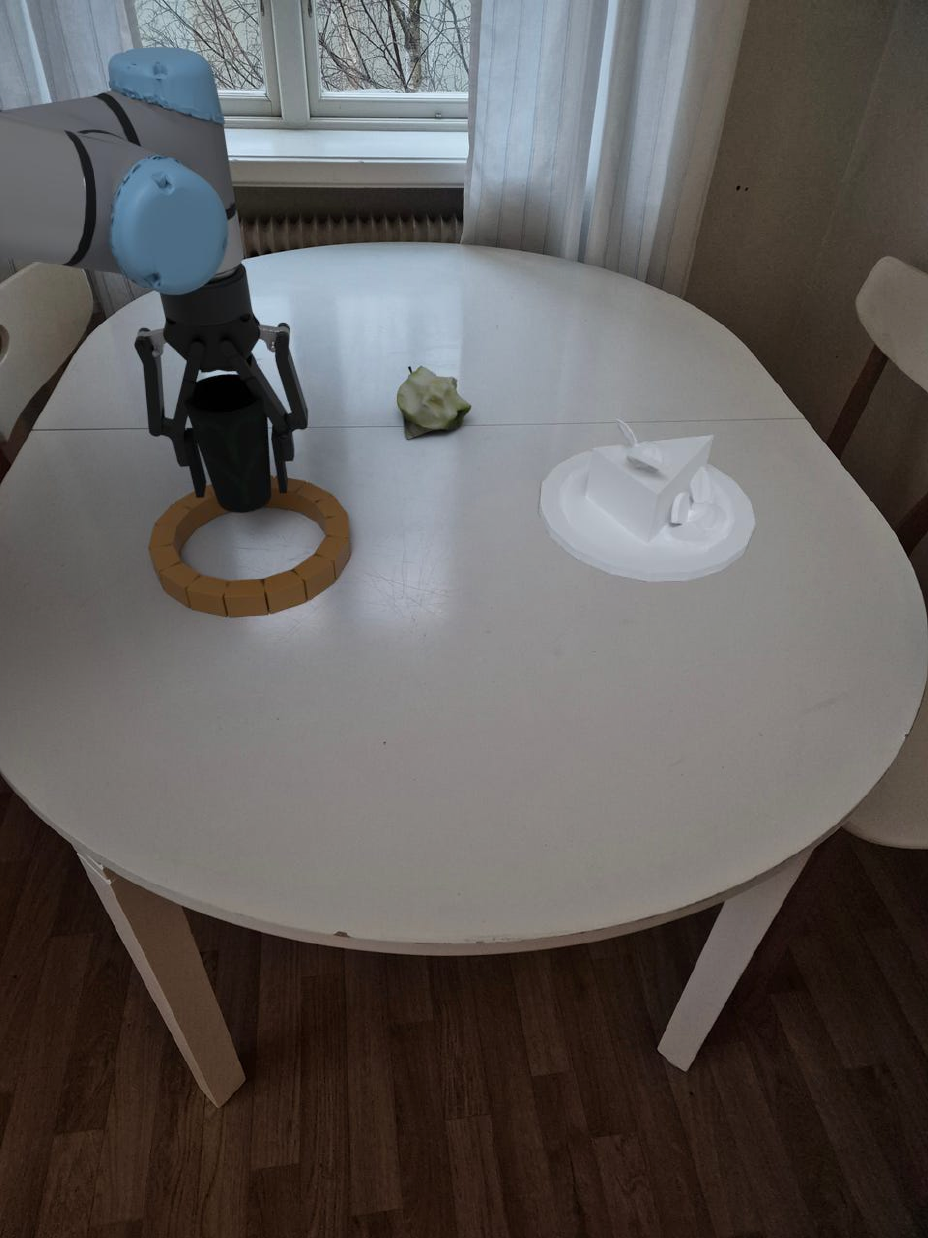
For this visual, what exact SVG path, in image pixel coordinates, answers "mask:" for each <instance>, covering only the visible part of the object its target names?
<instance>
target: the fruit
mask: <svg viewBox="0 0 928 1238" xmlns="http://www.w3.org/2000/svg"><path fill="white" fill-rule="evenodd" d="M407 369H408V371H409V374H408V375H407V378H406V380H405V381H404V382H403V383H402V384H401V385H399V388H398V390H397V393H396V404H397V407H398V409H399V411H400V412H401V414H402V418H403V430H404V431H403V432H404V433H403V434H404V438H405V440H408V441H409V440H411V439H413V438H415V437H418V436H421V435H423V434H426V433H428V432H431V431H437V430H446V431H450V430H453V429H457V428H460V427H461V426H462V425H463V423H464V418H465V416H466V415H468V413H470V411H471V410H472V404H470V403H468V401H466V400H465V399H463V398H462V397H461V395H460V394H459V393H458V390H457V388H458V379H457V378H455V377H453V376H439V375H438V376H437V374H436V372H434V371H431V370H430V369H428V367H426V366H423V365H420V366H419V367H417V369H416V370H414V371H413V370H412V366H411V365H409V366H407Z"/></svg>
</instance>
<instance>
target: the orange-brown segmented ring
mask: <svg viewBox="0 0 928 1238" xmlns="http://www.w3.org/2000/svg"><path fill="white" fill-rule="evenodd" d="M271 492H272V495H271V499H270V501H269V502H268V503H267V504H266V505H265V506H263V507H262V508H275V509H276V508H277V509H282V510H287V511H293V512H297V513H300V514H301V515H303V516H305V517H306V518H308V519H310V520H312V521H314V522H316V524H318V526H319V527H320V529H321V530H322V532H323V534H325V536H324V538H323V540H322V541H321V542H320V544H319V545H318V548H317V549H316V550H315V552H314V553H313V554H312V555H310V556H309V557H307V558H306V559H304V560H303V561H301V562H300V563H299V564H297V565H295V566H294V567H293V568H291V569H288V570H284V571H281V572H279V573H275V574H272V575H270V576H266V577H263V578H252V579H249V578H248V579H233V580H231V579H230V580H229V579H223V578H219V577H215V576H210V575H204V574H201V573H199V572H198V571H196V570H195V569H193V568H192V567H191V566H189V565H188V564H186V563H185V562H183V561H182V560H181V558H180V557H181V551H182V548H183V547H182V546H184V544H185V543H186V542H187V541H188V540H189V538H190V537H191V535H193V533H194V532H195V531H196V530H197V529H198V528H200V527H201V526H203V525H205V524H207V523H209V522H210V521H211V520H214V519H216V518H217V517H219V516H222V515H226V514H230V513H231V512H229V511H227V510H225V509H223V508H222V507H220V505H219V504H218V501H217V498H216V495H215V493H214V490H213V487H212V484H206V489H205V495H204V498H196V494H195V490H194V491H191V492H190V493H188V494H187V495H185V496H183V497H181V498H179V499H178V500H176V501H174V503H172V504H170V505H169V507H168V508H167V509H166V510H165V511H164V512H163V513H162V515H161V516H160V517H159V518H158V519H157V520H156V521H155V523H154V525H153V526H152V531H151V535H150V539H149V542H148V543H149V544H148V553H149V557H150V560H151V563H152V568H153V570H154V572H155V573H156V574H155V575H156V577H157V579H158V581H159V583H160V585H161V587H162V589H163V590H162V591H164V592H165V593H166V594H167V595H169V596H170V597H172V598H173V599H175V601H178V602H179V603H181V604H182V605H184V606H185V607H187V608H188V609H191V610H193V611H197V612H201V613H207V614H210V615H215V616H220V617H224V618H227V617H228V618H240V617H241V618H242V617H253V616H254V617H255V616H268V615H269V614H270V615H273V614H275V613H279V612H281V611H284V610H288V609H290V608H293V607H296V606H300V605H303V604H304V603H305V604H306V603H307V601H308V602H309V601H311V600H312V599H314V598H315V597H317V596H318V595H320V594H321V593H322V592H324V591H325V590H326V589H328V588H329V587H331V586H332V585H333V584H335V583H336V581H338V579H339V577H340V575H341V574H342V572H343V571H344V569H345V567H346V565H347V564H348V563H349V561H350V559H351V555H352V554H351V553H352V552H351V551H352V550H351V531H350V530H351V529H350V520H349V515H348V512H347V511H346V510H345V508H344V506H342V504H341V503H340V501H339V500H338V499H337V497H336V496H335V495H333V493H330V492H329V491H327V490H326V489H324V488H321V487H320V486H318V485H316V484H314V483H312V482H310V481H307V480H304V479H298V478H292V477H288V485H287V493H280V492H279V486H278V480H277V474H276V475H273V474H271Z"/></svg>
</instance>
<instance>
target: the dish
mask: <svg viewBox="0 0 928 1238" xmlns="http://www.w3.org/2000/svg"><path fill="white" fill-rule="evenodd" d="M614 421H615V424H616V426H617V428H618V430H619V432H620V434H621V436H622V437H623V438H624V440H625V441H626V442H627V443H622V444H612V445H602V446H594V447H592V448H591V449H590V450H586V451H581V452H578V453H576V454H574V455H572V456H570V457H569V458H566V459H565V460H564V461H562V462H560V463H558V464H557V465H555V466H554V467H553V469H552V470H551V471H550V473H548V475H547V476H546V477H545V479H544V480H543V482H542V483H541V487H540V498H539V510H538V516H539V518H540V520H541V522H542V524H543V526H544V528H545V530H546V532H547V534H548V536H549V538H550V539H551V540H552V541H554V542H555V543H556V545H558V546H559V547H561V548H562V549H563V550H564V551H565V552H566V553H567V554H568V555H570V556H571V557H572V558H573V559H576V560H577V561H579V562H581V563H584V564H586V565H589V566H590V567H593V568H595V569H597V570H599V571H601V572H604V573H606V574H608V575H612V576H617V577H623V578H627V579H632V580H637V581H642V582H645V583H646V582H647V583H664V582H665V583H666V582H667V583H668V582H689V581H693V580H696V579H699V578H703V577H706V576H707V577H708V576H710V575H713V574H717V573H720V572H723V571H724V570H725V569H726V568H728V567H729V566H730V565H732V564H733V563H734V562H736V561H737V560H738V559H739V558H741V557H742V556H743V555H745V553H746V550H747V548H748V544H749V543H750V541H751V538H752V535H753V533H754V530H755V527H756V519H755V514H754V509H753V505H752V501H751V499H750V498H749V497H748V496H747V494H746V493H745V492H744V491H743V490H742V489H741V487H740V486H739V485H738V483H737V482H736V481H735V480H734V479H733V478H731V477H730V476H728V475H727V474H725V473H724V472H722V471H720V470H719V469H717V468H716V467H715V466H713V465H711V464H710V463H709V462H708V460H709V457H710V453H711V450H712V445H713V441H714V437H715V434H710V435H700V436H691V437H680V438H670V439H662V440H653V441H647V440H644V441H643V442H642V441H641V442H638V440H637V437H636V436H635V433H634V431H633V430H632V428H631V427H630V426H629V425H628V424H627V423H626V422H624V421H623V420H621V419H619V418H615V419H614Z"/></svg>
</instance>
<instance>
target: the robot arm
mask: <svg viewBox="0 0 928 1238" xmlns="http://www.w3.org/2000/svg"><path fill="white" fill-rule="evenodd" d="M107 69H108V79H109V80H108V87H109V89H110V90H107V91H103V92H99V93H98V94H95V95H91V96H85V97H79V98H73V99H72V98H71V99H65V100H60V101H53V102H46V103H40V104H35V105H34V104H33V105H28V106H21V107H15V108H8V109H2V108H1V107H0V258H3V259H10V260H18V261H27V262H34V263H41V264H49V265H50V264H51V265H58V266H64V267H69V268H74V269H81V270H87V271H97V272H104V273H112V274H118V275H122V276H124V277H125V278H126V279H128V280H129V281H130V282H131V283H134V284H136V285H137V286H139V287H141V288H145V289H150V290H151V291H154V292H157V293H159V296H160V301H161V304H162V311H163V314H164V318H165V321H164V322H165V323H164V326H163V327H162V328H157V329H153V330H152V329H149V328H148V327H141V328H139V330H138V332H137V335H136V338H135V341H134V343H133V346H134V349H135V352H136V353H137V355H138V357H139V359H140V361H141V363H142V367H143V368H142V369H143V380H144V393H145V402H146V404H145V405H146V415H147V416H146V417H147V427H148V433H149V434H150V435H151V436H152V437H156V438H157V437H161V436H162V437H166V438H168V439H170V441H171V443H172V446H173V450H174V454H175V459H176V462H177V465H178V466H179V467H180V468H187V467H188V469H189V473H190V477H191V481H192V485H193V489H194V491H195V494H196V498H204V495H205V489H206V485H207V477H206V473H205V469H204V464H203V459H202V454H201V451H200V448H199V446H198V443H197V440H196V437H195V434H194V431H193V428H192V427H186V426H187V421H188V419H189V416H188V413H187V410H186V407H185V404H184V402H185V401H188V402H189V403H190V405H191V401H192V397H193V393H194V389H195V385H196V382H198V378H199V372H200V373H201V374H204V373H207V374H208V373H213V372H217V371H221V372H226V373H231V372H232V373H233V372H235V374H238V376H239V377H240V379H241V380H242V381H244V382H245V383H246V385H247V386H248V388H249V389H250V391H251V392H252V394H253V395H254V397H255V399H256V400H258V399H259V398H262V399H263V407H264V412H265V414H266V416H267V419H268V420H269V422H270V423H271V433H270V442H271V446H272V454H273V458H274V459H273V461H274V466H275V472H276V473H275V474H276V475H277V480H278V486H279V492H280V493H287V485H288V478H289V476H288V469H287V462H288V463H289V462H294V458H295V443H294V436H293V433H294V432H295V431H297V430H301V431H304V430H306V429H307V428H308V427H309V410H308V406H307V403H306V399H305V396H304V393H303V390H302V386H301V381H300V380H299V379H300V378H299V376H298V373H297V369H296V366H295V362H294V359H293V356H292V353H291V349H290V339H291V327H290V325H289V324H288V323H287V322H280V323H279V324H278V325H277V326H273V325H268V324H261V323H260V321H259V319H258V318H257V317H256V314H255V313H254V311H253V306H252V299H251V294H250V293H251V292H250V285H249V280H248V273H247V267H245V265H244V264H243V263H242V262H243V260H244V258H245V255H244V248H243V247H244V246H243V242H242V235H241V228H240V221H239V215H238V210H237V208H236V202H235V201H236V199H235V191H234V188H233V187H234V186H233V180H232V173H231V165H230V158H229V151H228V146H227V139H226V131H225V126H224V125H225V124H226V121H225V117H224V114H223V110H222V106H221V101H220V96H219V92H218V87H217V84H216V80H215V77H214V71H213V69H212V66H211V64H210V62H209V61H208V60H207V59H206V58H205V57H204V55H202V54H200V53H198V52H196V51H194V50H190V49H187V48H183V47H182V48H181V47H173V46H172V47H171V46H149V47H137V48H132V49H128V50H126V51H125V52H124V51H123V52H119V53H116V54H114V55H113V56H111V58H110V59H109V61H108V65H107ZM259 340H260V341H261V340H262V341H263V342H264V343H265V345H266V348H267V351H269V352H271V353H272V354H273V353H274V360H275V365H276V368H277V372H278V375H279V378H280V381H281V384H282V387H283V390H284V395H285V397H286V400H287V403H288V406H289V409H290V412H288V411H287V409H286V408H285V406H284V404H283V403H282V401H281V399H280V398H279V397H278V395H277V393H276V391H275V390H274V389H273V387H272V385H271V383H270V382H269V380H268V379H267V377H266V376H265V374H264V372H263V371H262V369H261V368H260V365H259V364H258V362H257V359H256V357H255V354H254V353H253V350H254V348H255V346H256V345H257V344H258V342H259ZM165 344H168V345H169V346H170V347H171V348H172V349H173V350H174V351H175V352H177V354H178V355H179V356H180V357H181V358H182V359H184V361H186V363H185V367H184V371H183V376H182V380H181V384H180V389H179V392H178V397H177V400H176V407H175V410H174V413H173V417H172V418H170V417H168V416H167V417H166V411H165V410H166V408H165V395H164V394H165V393H164V382H163V381H164V379H163V369H162V368H163V366H162V356H163V355H164V351H165Z"/></svg>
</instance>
